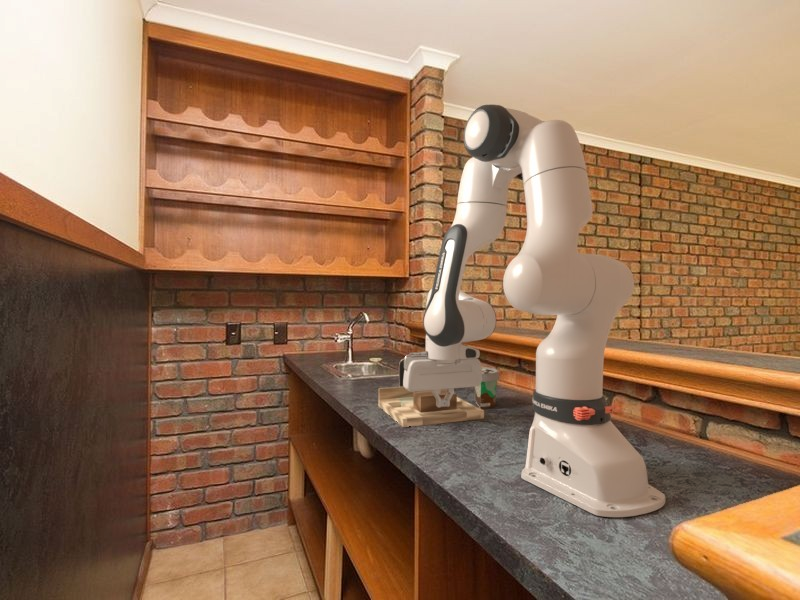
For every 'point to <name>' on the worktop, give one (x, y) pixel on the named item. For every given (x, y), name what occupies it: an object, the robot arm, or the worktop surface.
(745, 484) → the worktop surface
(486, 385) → the food container
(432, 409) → the block
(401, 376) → the battery charger
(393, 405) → the wooden frame
